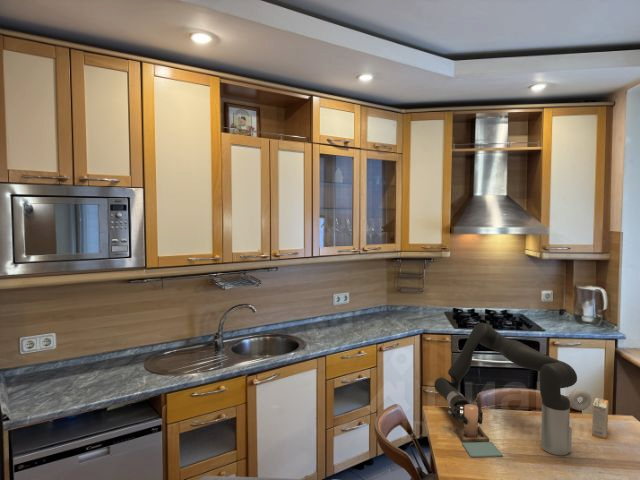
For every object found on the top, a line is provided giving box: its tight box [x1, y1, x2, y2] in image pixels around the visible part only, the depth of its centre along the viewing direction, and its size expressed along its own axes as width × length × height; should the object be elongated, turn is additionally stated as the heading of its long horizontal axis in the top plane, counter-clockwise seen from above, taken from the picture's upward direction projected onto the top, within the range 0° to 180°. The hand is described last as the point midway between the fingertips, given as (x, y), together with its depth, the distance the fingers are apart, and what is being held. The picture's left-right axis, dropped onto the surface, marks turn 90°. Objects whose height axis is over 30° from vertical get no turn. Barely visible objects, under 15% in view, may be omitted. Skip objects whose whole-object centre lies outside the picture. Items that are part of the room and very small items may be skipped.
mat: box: [461, 441, 504, 459], centre depth 159 cm, size 12×9×1 cm
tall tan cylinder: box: [463, 403, 479, 438], centre depth 170 cm, size 5×5×12 cm
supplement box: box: [591, 397, 609, 440], centre depth 171 cm, size 8×5×13 cm, turn 141°
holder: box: [453, 425, 490, 443], centre depth 170 cm, size 10×10×2 cm
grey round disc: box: [567, 388, 592, 412], centre depth 191 cm, size 10×4×10 cm, turn 89°
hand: (473, 422), depth 167 cm, fingers closed on tall tan cylinder, 5 cm apart
